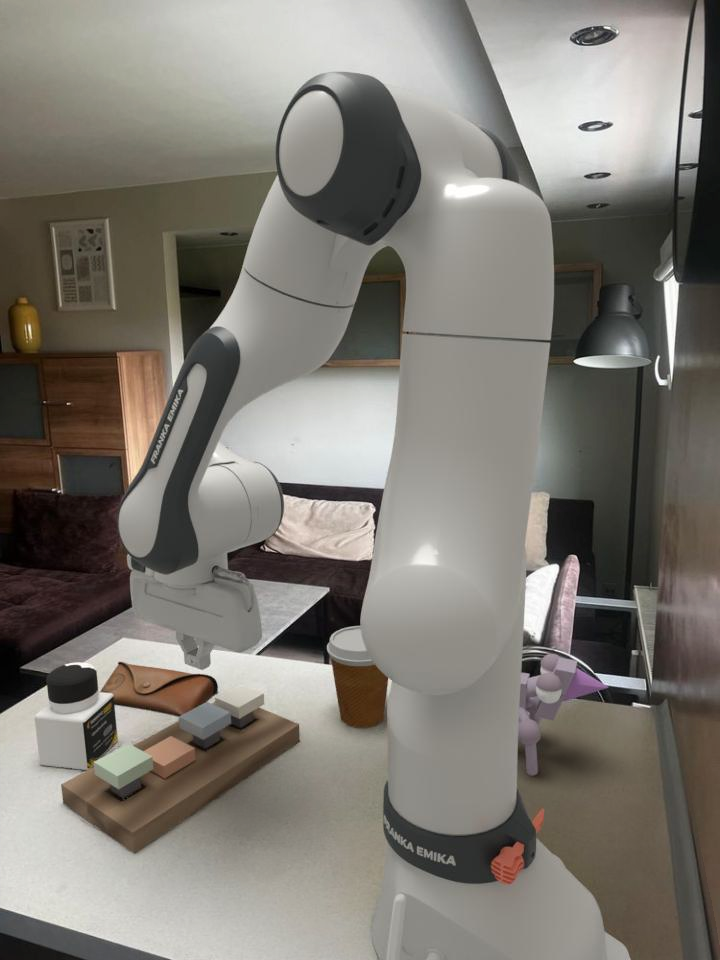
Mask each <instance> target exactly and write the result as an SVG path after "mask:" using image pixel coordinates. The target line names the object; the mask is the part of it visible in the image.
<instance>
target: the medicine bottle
mask: <svg viewBox="0 0 720 960" xmlns="http://www.w3.org/2000/svg"><path fill="white" fill-rule="evenodd" d="M97 671H98V670H97V668H96V666H94V665H93V664H91V663H89V662H78V661H77V662H70V663H65V664H62V665H60V666H58V667H56V668H54V669H53V670H51V671H50V672H49V674H48V675H47V676H46V679H45V681H46V688H47V689H46V690H47V698H48V704H47V705H46V706H45V707H43V708H42V709H40V711H39V712H37V713H35V715H34V724H35V725H34V726H35V732H36V742H37V749H38V750H37V751H38V757H39V764H40V766H46V767H56V768H62V767H63V768H64V769H71V768H72V769H74V770H80V769H81V770H82V771H87V770H89V769H91V768H93V767H94V762H95V761H97V760H98V759H100V758H102V757H104V755H106V753H107V752H108V751H109V750H110V749H111V748H112V747H113V746H114V745H115V744H116V743H117V742H118V737H119V736H118V728H117V719H116V717H117V716H116V709H115V708H116V707H115V705H114V696H113V694H112V693H102V692H100V691H99V682H98V672H97Z"/></svg>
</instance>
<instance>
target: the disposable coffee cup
mask: <svg viewBox="0 0 720 960" xmlns="http://www.w3.org/2000/svg"><path fill="white" fill-rule="evenodd" d="M326 650H327V653H328V656H329V657H330V663H331V667H332V674H333V678H334V680H333V681H334V684H335V685H334V686H335V694H336V698H337V704H338V711H339V716H340V717H339V718H340V720H341V722H343V723H344V724H345V725H347V726H350V727H354V728H370V727H373V726H377V725H378V724H380V723H381V722H382V721H383V720H384V717H385V712H386V711H385V710H386V703H387V702H386V701H387V693H388V686H389V685H388V684H389V678H388V677H387V676H385V675H384V674H383V673H382V672H381V671H380V670H379V668H378V667H377V666H376V665H375V663H374V662H373V661H372V659H371V657H370V656H369V654H368V652H367V650H366V648H365V645H364V642H363V639H362V634H361V625H354V626H348V627H344V628H339V630H336V631H334V632H333V633H332V634H331V635H330V637H329V642H328V643H327V645H326Z"/></svg>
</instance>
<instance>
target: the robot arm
mask: <svg viewBox="0 0 720 960" xmlns="http://www.w3.org/2000/svg"><path fill="white" fill-rule="evenodd" d="M275 164H276V171H277V175H276V177H275V179H274V181H273V183H272V185H271V187H270V189H269V191H268V193H267V196H266V197H265V201H263V204H262V207H261V210H260V212H259V215H258V217H257V220H256V222H255V225H254V228H253V230H252V233H251V236H250V239H249V242H248V245H247V249H246V253H245V256H244V259H243V264H242V268H241V271H240V274H239V278H238V279H237V282H236V284H235V287H234V289H233V292H232V294H231V296H230V297H229V299H228V301H227V302H226V303H225V307H223V309H222V311H221V312H220V314H219V315H218V317H217V318H216V320H215V321H214V322H213V324H212V325H211V326H210V327H209V328H208V329H206V330H205V331H204V333H202V334H201V335H200V336H199V337H198V338H197V339H196V340H195V341H194V343H193V344H192V345H191V347H190V349H189V351H188V353H187V354H186V356H185V358H184V361H183V363H182V366H181V367H180V370H179V372H178V374H177V376H176V379H175V382H174V384H173V386H172V389H171V392H170V394H169V396H168V399H167V402H166V404H165V406H164V409H163V412H162V414H161V417H160V419H159V422H158V424H157V427H156V430H155V433H154V434H153V438H152V439H151V440H150V441H149V445H148V450H147V452H146V455H145V457H144V460H143V462H142V464H141V466H140V468H139V470H138V472H137V473H136V475H135V476H134V478H133V479H132V481H131V482H130V484H129V486H128V487H127V488H126V490H125V492H124V494H123V496H122V499H121V501H120V503H119V504H120V505H119V507H118V511H117V514H116V515H117V516H116V518H117V519H116V526H117V534H118V537H119V541H120V543H121V545H122V548H123V549H124V551H125V552H126V553H127V555H126V562H127V567H128V569H129V570H130V571H131V572H130V576H129V588H130V600H131V607H132V610H133V612H134V614H135V616H136V617H137V619H139V620H141V621H144V622H147V623H149V624H152V625H156V626H159V627H161V628H164V629H167V630H171V631H173V632H175V639H176V641H177V642H178V645H179V647H180V649H181V651H182V652H183V660H184V664H185V665H187V666H189V667H192V668H196V669H198V670H201V671H203V670H205V669H208V668H209V667H210V666H211V664H212V661H211V653H212V651H213V649H214V647H215V646H218V647H221V648H223V649H227V650H229V651H232V652H234V653H238V654H239V653H243V652H246V651H248V650H250V649H252V648H253V647H255V646H257V645H258V644H259V643H260V641H261V639H262V637H263V627H262V619H261V613H260V606H259V602H258V598H257V594H256V591H255V587H254V584H253V583H251V581H250V580H249V579H248V578H247V577H246V575H245V573H243V572H241V571H233V570H230V569H229V566H228V553H231V552H235V551H237V550H239V549H241V548H246V547H248V546H251V545H255V544H257V543H260V542H263V541H265V540H267V539H269V538H271V537H273V536H274V535H275V534H277V531H278V530H279V529H280V526H281V524H282V521H283V519H284V518H283V517H284V513H285V501H284V500H285V499H284V493H283V489H282V486H281V484H280V482H279V479H278V478H277V477H276V475H275V474H274V473H273V472H272V470H271V469H270V468H269V467H267V466H266V465H264V464H263V463H261V462H259V461H252V460H249V459H246V458H245V457H242V456H240V455H239V454H237V453H235V452H233V450H230V449H229V448H228V447H226V446H225V444H223V443H222V441H221V438H222V435H223V432H224V430H225V429H226V427H227V426H228V425H229V423H230V421H231V420H232V419H233V418H234V417H235V416H236V415H237V414H238V413H239V412H240V411H241V410H242V409H243V408H244V407H246V406H247V405H248V404H251V402H254V400H256V399H258V398H260V397H261V396H264V395H265V394H267V393H269V392H271V391H273V390H275V389H277V388H279V387H282V386H284V385H287V384H289V383H291V382H293V381H296V380H298V379H300V378H303V377H306V376H308V375H310V374H311V373H313V372H315V371H316V370H317V369H319V368H320V367H322V366H323V365H325V364H326V363H327V362H328V361H329V360H330V358H331V357H332V355H333V354H334V352H335V351H336V349H337V347H339V345H340V342H341V341H342V339H343V337H344V335H345V332H346V331H347V328H348V325H349V322H350V319H351V317H352V313H353V309H354V308H355V303H356V301H357V298H358V296H359V291H360V289H361V286H362V283H363V279H364V275H365V272H366V270H367V268H368V266H369V263H370V261H371V260H372V258H373V257H374V256H375V255H376V253H378V252H379V251H380V250H382V249H383V248H386V247H390V248H392V249H393V250H394V251H395V252H396V253H397V255H398V256H399V258H400V260H401V262H402V264H403V267H404V270H405V271H404V272H405V279H406V280H405V281H406V283H405V284H406V285H405V289H406V291H405V304H404V311H403V312H404V313H403V325H402V332H407V333H402V335H401V336H402V338H401V348H400V349H401V350H400V359H399V360H400V363H399V375H398V388H397V389H398V390H397V404H396V405H397V406H396V417H395V428H394V438H393V443H392V449H391V455H390V461H389V465H388V469H387V472H386V473H387V474H386V478H385V483H384V488H383V492H382V498H381V503H380V504H381V505H380V507H379V508H380V509H379V514H378V521H377V525H376V532H375V539H374V545H373V550H372V557H371V564H370V571H369V576H368V579H367V585H366V589H365V594H364V597H363V601H362V607H361V612H360V621H359V622H360V625H359V626H361V634H362V639H363V642H364V645H365V648H366V650H367V652H368V654H369V656H370V657H371V659H372V661H373V662H374V663H375V665H376V666H377V667H378V668H379V670H380V671H381V672H382V673H383V674H384V675H385V676H387V677H388V680H391V686H390V691H389V694H388V699H387V706H386V721H387V723H386V724H387V725H386V728H387V730H386V731H387V733H386V735H387V737H386V738H387V740H386V741H387V742H386V743H387V779H386V781H385V785H384V787H383V803H382V807H383V808H382V809H383V810H382V811H383V812H382V818H383V819H382V820H383V821H382V825H383V826H382V827H383V828H382V829H383V833H384V837H385V839H386V853H385V863H384V871H383V878H382V883H381V890H380V894H379V898H378V901H377V903H376V904H377V905H376V907H375V909H374V913H373V917H372V921H371V937H372V942H373V947H374V949H375V953H376V955H377V957H378V960H632V959H631V956H630V954H629V950H628V947H626V945H624V943H622V942H621V941H619V940H618V939H616V938H615V937H614V936H612V935H610V934H609V933H608V932H606V931H605V926H604V921H603V917H602V913H601V909H600V907H599V905H598V902H597V900H596V898H595V897H594V895H593V894H592V893H591V892H590V890H588V888H587V887H585V886H584V884H583V883H581V882H580V881H579V879H577V878H576V876H574V874H572V873H571V872H570V870H568V869H567V867H566V865H565V863H564V862H563V860H561V858H560V857H559V856H557V855H556V854H554V853H552V852H551V851H550V850H549V849H548V848H547V847H546V846H545V845H544V843H543V842H541V841H540V840H539V838H537V834H538V833H539V831H540V830H541V829H542V827H543V824H544V821H545V817H544V816H545V809H544V808H541V809H540V810H539V812H538V813H537V814H536V815H535V817H534V818H533V819H532V820H531V819H530V816H529V814H528V811H527V808H526V806H525V803H524V801H523V798H522V796H521V794H520V791H519V788H518V784H517V783H518V757H519V755H518V754H519V753H518V752H519V750H518V749H519V739H518V724H519V723H520V722H519V702H520V685H521V673H522V667H523V666H522V665H523V664H522V662H523V647H524V646H523V645H524V625H525V607H526V587H527V586H526V583H527V566H528V565H527V561H528V559H527V558H528V556H527V549H526V539H527V530H528V525H529V524H528V523H529V518H530V517H529V516H530V509H531V502H532V494H533V486H534V479H535V478H534V477H535V472H536V465H537V457H538V451H539V444H540V436H541V435H540V434H541V426H542V416H543V410H544V409H543V408H544V401H545V390H546V383H547V382H546V381H547V375H548V374H547V373H548V366H549V358H550V348H551V342H547V341H551V339H552V329H553V318H554V301H555V300H554V299H555V265H554V263H555V261H554V243H553V230H552V220H551V215H550V213H549V210H548V208H547V206H546V204H545V203H544V201H543V200H542V199H541V197H540V196H539V195H537V193H535V192H534V191H532V190H531V189H529V188H527V187H526V186H524V185H522V184H520V174H519V170H518V166H517V163H516V161H515V158H514V156H513V155H512V153H511V151H510V150H509V148H508V147H507V145H506V144H505V143H504V142H503V141H502V140H501V139H500V138H499V137H498V136H497V135H495V133H494V132H492V131H491V130H489V129H488V128H487V127H485V126H483V125H481V124H479V123H475V122H471V121H469V120H467V119H466V118H464V117H463V116H461V115H460V114H458V113H456V112H454V111H452V110H451V109H449V108H447V107H445V106H444V105H442V103H440V102H438V101H437V100H435V99H434V98H431V97H429V96H427V95H423V94H421V93H418V92H416V91H413V90H411V89H406V88H403V87H400V86H395V85H391V84H387V83H384V82H381V81H380V80H379V79H378V78H376V77H375V76H373V75H369V74H364V73H357V72H352V71H351V72H350V71H329V72H323V73H320V74H318V75H315V76H313V77H311V78H309V79H308V80H306V82H305V83H304V84H302V85H301V87H299V89H298V90H297V91H296V93H294V95H293V97H292V98H291V100H290V102H289V103H288V105H287V107H286V109H285V111H284V113H283V115H282V118H281V121H280V123H279V127H278V132H277V136H276V142H275ZM413 333H415V334H413ZM417 333H421V334H417ZM422 333H426V334H422ZM433 334H435V335H433ZM436 334H440V335H436ZM448 335H449V336H448ZM454 335H457V336H454ZM469 336H470V337H469ZM471 336H472V337H471ZM473 336H474V337H473ZM484 337H486V338H484ZM487 337H489V338H487ZM498 338H499V339H498ZM500 338H502V339H500ZM503 338H506V339H503ZM515 339H516V340H515ZM517 339H521V340H517ZM522 339H523V340H522ZM529 340H530V341H529ZM533 340H535V341H533ZM536 340H538V341H536ZM541 340H542V341H541ZM543 341H546V342H543Z"/></svg>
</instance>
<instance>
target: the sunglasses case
mask: <svg viewBox="0 0 720 960" xmlns="http://www.w3.org/2000/svg"><path fill="white" fill-rule="evenodd" d="M218 688H219V684H218V682H217V680H216V679H215V677H213V676H211V675H209V674H203V673H191V672H190V673H189V672H185V671H178V670H173V669H166V668H161V667H153V666H144V665H139V664H138V665H136V664H130V663H127V662H124V661H118V662H117V666H116V667H115V668H114V670H113V671H112V673H111V674H110V676H109V677H108V679H107V681H106V682H105V684H104V685H103V687H102V688H101V689H100V691H99V692H102V693H112V694H113V696H114V706H115V705H116V706H121V707H129V708H135V709H141V710H145V709H146V710H147V711H150V710H151V712H156V711H157V713H161V712H162V713H163V714H167V715H172V716H176V717H179V716H181V715H183V714H185V713H187V712H189V711H190V710H192V709H194V708H196V707H198V706H200V705H202V704H204V703H206V702H209V701H210V700H211V699H212V698H213V697H214V696H215V695H218Z"/></svg>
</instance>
